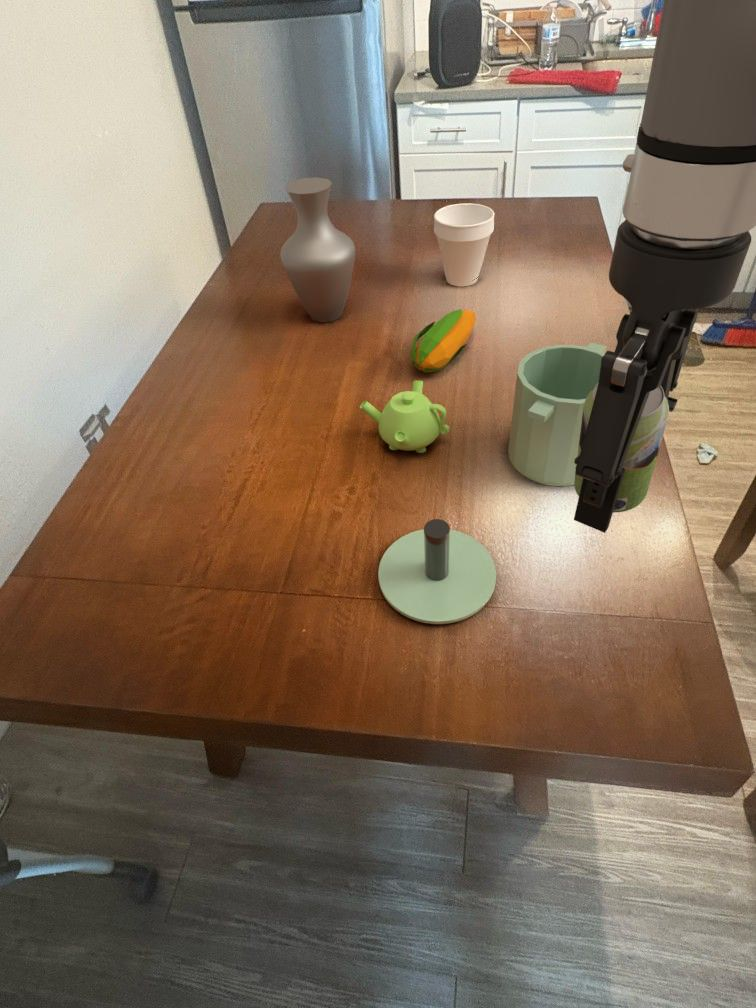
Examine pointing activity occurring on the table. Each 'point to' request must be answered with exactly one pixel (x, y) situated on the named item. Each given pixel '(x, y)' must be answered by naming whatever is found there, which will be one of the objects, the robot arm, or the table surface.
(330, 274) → the vase
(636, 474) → the beverage can
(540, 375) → the pot
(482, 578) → the lid
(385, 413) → the teapot
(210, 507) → the table surface
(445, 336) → the corn
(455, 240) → the cup
